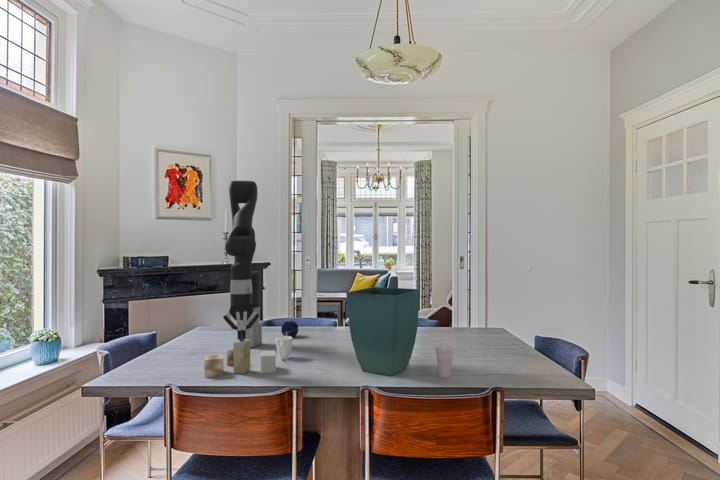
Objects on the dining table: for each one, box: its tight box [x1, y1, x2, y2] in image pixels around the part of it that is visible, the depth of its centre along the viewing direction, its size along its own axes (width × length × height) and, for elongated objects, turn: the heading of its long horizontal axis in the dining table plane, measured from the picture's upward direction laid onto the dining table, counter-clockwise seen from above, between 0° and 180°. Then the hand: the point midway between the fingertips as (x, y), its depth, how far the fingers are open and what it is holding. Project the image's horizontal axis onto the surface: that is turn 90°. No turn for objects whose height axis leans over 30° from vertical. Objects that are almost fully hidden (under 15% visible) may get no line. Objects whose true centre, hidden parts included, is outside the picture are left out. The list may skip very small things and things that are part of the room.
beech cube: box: [204, 354, 224, 378], centre depth 152 cm, size 6×6×6 cm
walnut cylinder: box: [226, 349, 233, 367], centre depth 164 cm, size 5×5×5 cm
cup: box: [275, 335, 294, 361], centre depth 170 cm, size 7×10×8 cm
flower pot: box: [345, 286, 421, 376], centre depth 154 cm, size 20×20×28 cm
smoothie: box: [434, 333, 455, 379], centre depth 146 cm, size 6×6×14 cm
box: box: [232, 339, 251, 375], centre depth 154 cm, size 5×4×11 cm
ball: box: [281, 320, 299, 338], centre depth 210 cm, size 8×8×8 cm
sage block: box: [259, 350, 277, 374], centre depth 156 cm, size 5×7×6 cm
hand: (241, 340), depth 154 cm, fingers closed
